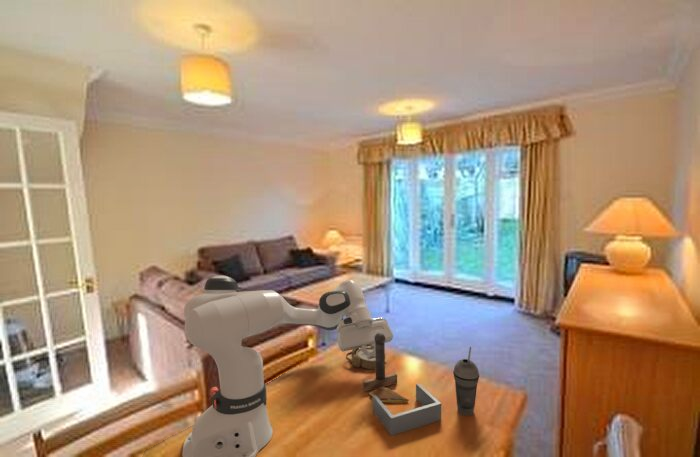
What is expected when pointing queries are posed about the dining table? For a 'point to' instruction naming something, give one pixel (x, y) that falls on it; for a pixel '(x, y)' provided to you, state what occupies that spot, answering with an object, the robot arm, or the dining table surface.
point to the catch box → (409, 413)
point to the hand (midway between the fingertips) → (372, 358)
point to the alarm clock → (362, 359)
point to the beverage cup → (466, 385)
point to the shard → (388, 395)
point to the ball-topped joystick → (380, 367)
